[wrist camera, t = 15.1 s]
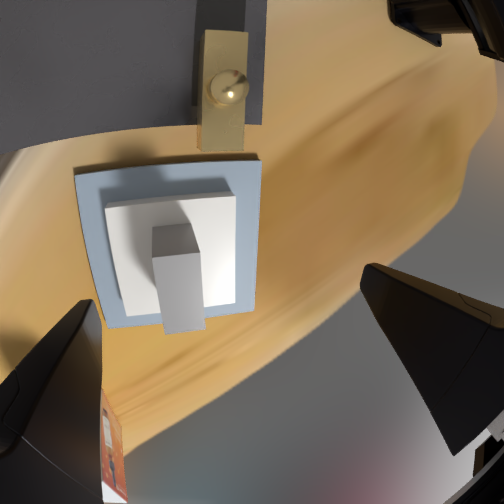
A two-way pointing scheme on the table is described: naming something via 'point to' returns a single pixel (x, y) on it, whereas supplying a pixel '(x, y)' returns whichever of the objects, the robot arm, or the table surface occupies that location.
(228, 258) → the lid
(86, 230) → the pad
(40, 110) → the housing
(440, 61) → the table surface
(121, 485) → the small box
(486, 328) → the robot arm
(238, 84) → the pegged block
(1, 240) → the table surface
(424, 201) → the table surface
